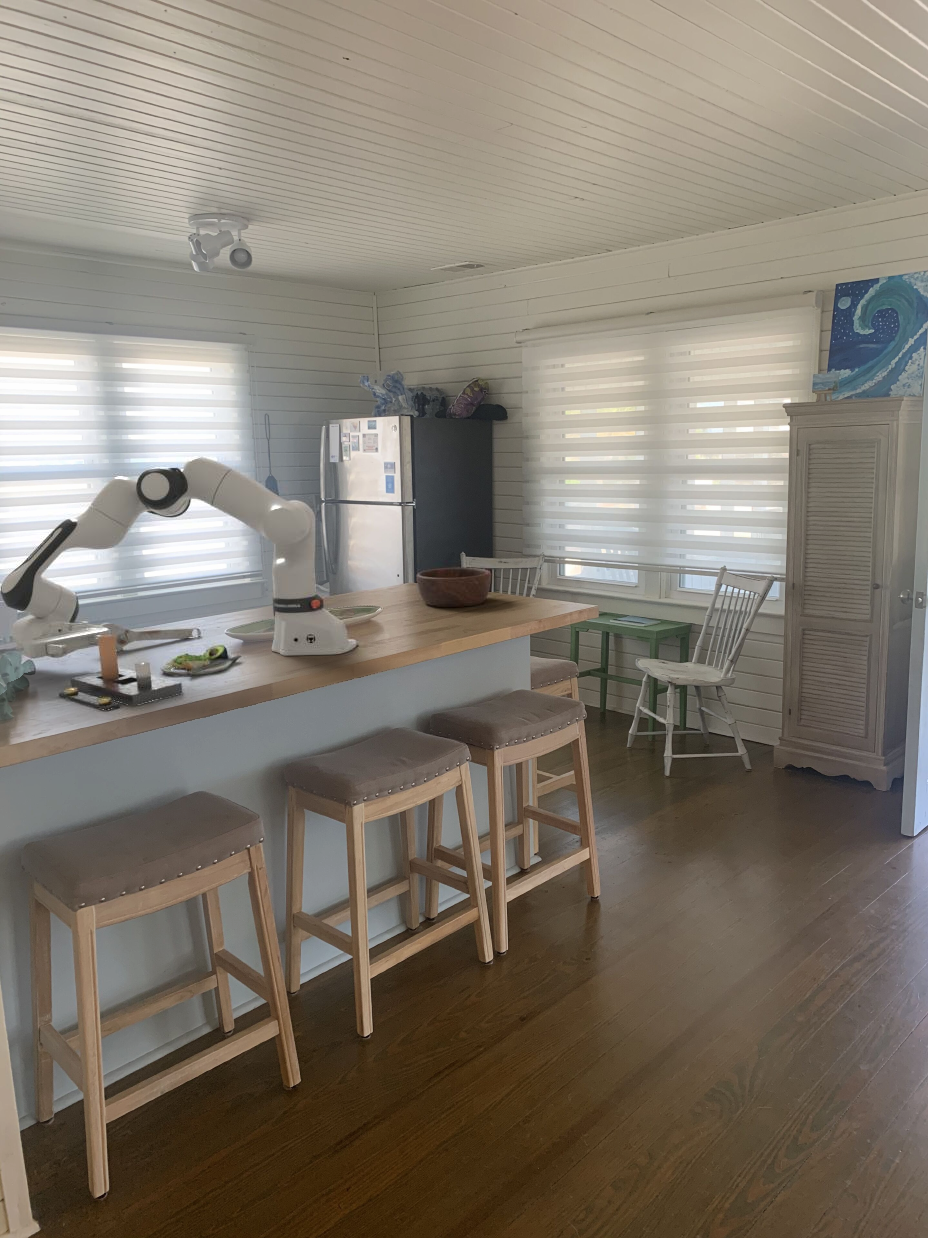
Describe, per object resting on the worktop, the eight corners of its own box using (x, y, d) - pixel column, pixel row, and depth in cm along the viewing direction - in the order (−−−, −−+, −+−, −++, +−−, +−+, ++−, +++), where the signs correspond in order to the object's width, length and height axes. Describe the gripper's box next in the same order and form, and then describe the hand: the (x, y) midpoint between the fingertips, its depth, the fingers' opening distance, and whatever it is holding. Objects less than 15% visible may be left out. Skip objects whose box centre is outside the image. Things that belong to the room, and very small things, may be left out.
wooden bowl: (411, 599, 311) (410, 570, 309) (481, 594, 317) (480, 565, 315) (425, 612, 288) (424, 580, 286) (500, 606, 293) (500, 575, 291)
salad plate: (224, 679, 212) (222, 660, 211) (149, 681, 213) (147, 662, 212) (245, 660, 231) (244, 642, 230) (176, 661, 232) (175, 644, 231)
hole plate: (50, 693, 203) (46, 661, 201) (119, 677, 216) (116, 646, 214) (111, 712, 186) (107, 677, 185) (182, 693, 199) (179, 660, 198)
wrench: (200, 647, 260) (96, 653, 240) (197, 646, 262) (94, 652, 241) (201, 619, 259) (97, 623, 239) (198, 618, 261) (94, 623, 240)
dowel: (123, 685, 208) (117, 634, 206) (114, 689, 204) (108, 638, 202) (109, 685, 209) (103, 634, 206) (100, 689, 205) (94, 638, 203)
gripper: (10, 634, 212) (38, 641, 203) (92, 619, 227) (121, 625, 219) (13, 660, 213) (41, 668, 204) (94, 644, 229) (123, 651, 220)
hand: (83, 646), depth 212 cm, fingers open, 8 cm apart
